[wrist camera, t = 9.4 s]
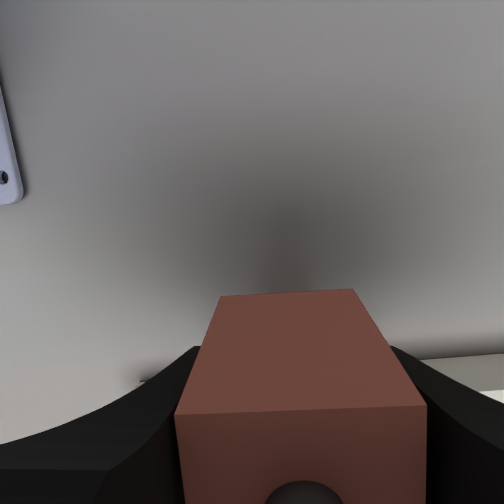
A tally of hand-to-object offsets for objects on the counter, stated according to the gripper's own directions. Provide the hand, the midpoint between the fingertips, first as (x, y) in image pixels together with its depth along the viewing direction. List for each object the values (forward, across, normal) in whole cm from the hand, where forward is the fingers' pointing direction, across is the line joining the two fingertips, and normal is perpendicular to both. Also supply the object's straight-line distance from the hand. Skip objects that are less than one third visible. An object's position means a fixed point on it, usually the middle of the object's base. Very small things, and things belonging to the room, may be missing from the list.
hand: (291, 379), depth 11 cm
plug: (+2, 0, 0) cm, 2 cm away
